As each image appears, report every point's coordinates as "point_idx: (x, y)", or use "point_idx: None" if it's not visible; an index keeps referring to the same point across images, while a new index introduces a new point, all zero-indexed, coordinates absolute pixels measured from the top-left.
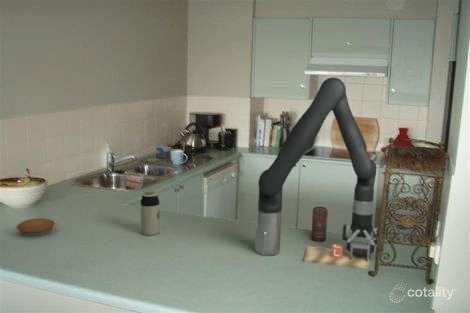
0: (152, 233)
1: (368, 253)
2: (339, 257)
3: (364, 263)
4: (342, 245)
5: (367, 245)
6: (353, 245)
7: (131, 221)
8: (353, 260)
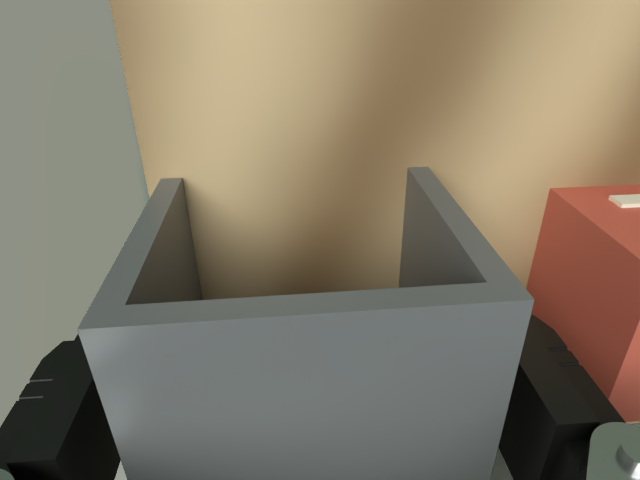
0: None
1: (125, 252)
2: (595, 190)
3: (210, 104)
4: (615, 405)
5: (153, 459)
6: (472, 372)
7: None
8: (386, 170)
